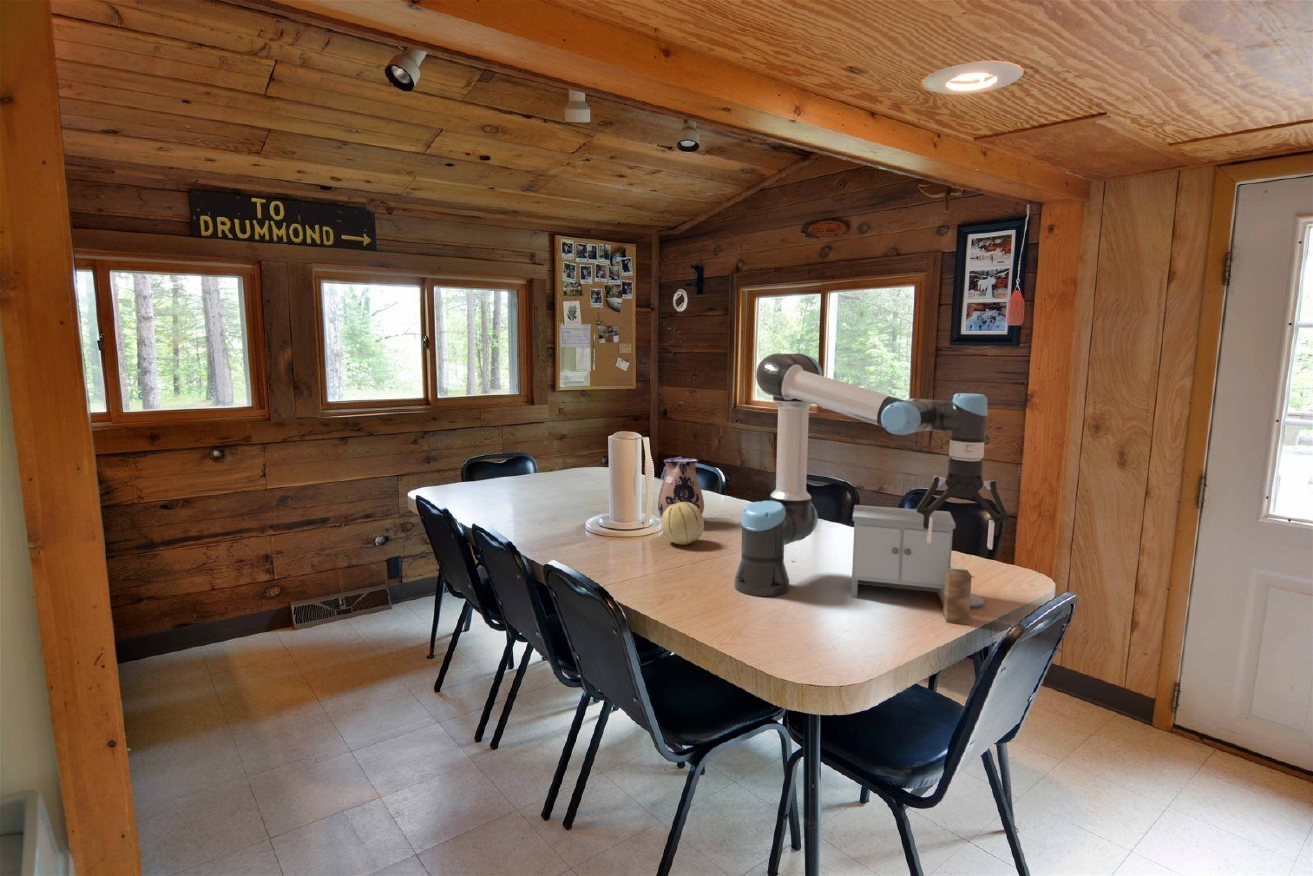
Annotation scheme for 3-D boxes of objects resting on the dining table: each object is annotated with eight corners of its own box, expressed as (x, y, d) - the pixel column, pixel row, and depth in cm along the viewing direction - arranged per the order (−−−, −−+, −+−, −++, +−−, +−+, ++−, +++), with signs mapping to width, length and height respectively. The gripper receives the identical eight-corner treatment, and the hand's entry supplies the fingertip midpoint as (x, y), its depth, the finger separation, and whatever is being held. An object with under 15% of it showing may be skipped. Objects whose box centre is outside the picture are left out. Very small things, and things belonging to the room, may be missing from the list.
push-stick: (946, 622, 166) (949, 574, 165) (934, 594, 186) (936, 551, 185) (968, 624, 165) (971, 576, 164) (953, 596, 185) (956, 552, 183)
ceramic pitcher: (663, 531, 252) (663, 463, 249) (652, 517, 272) (652, 455, 269) (709, 529, 255) (710, 462, 252) (694, 516, 276) (695, 454, 273)
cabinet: (848, 599, 182) (852, 517, 179) (851, 580, 197) (854, 504, 194) (950, 610, 174) (956, 525, 171) (944, 590, 189) (949, 511, 187)
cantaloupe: (701, 550, 226) (702, 506, 224) (658, 548, 228) (658, 504, 227) (705, 539, 241) (706, 497, 239) (664, 537, 243) (664, 495, 241)
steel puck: (955, 607, 177) (955, 600, 177) (952, 598, 184) (952, 591, 183) (985, 610, 175) (985, 603, 175) (981, 601, 181) (981, 594, 181)
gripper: (910, 457, 163) (904, 543, 166) (1027, 464, 156) (1018, 554, 159) (909, 452, 170) (903, 535, 173) (1020, 459, 163) (1012, 546, 166)
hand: (958, 545), depth 166 cm, fingers open, 13 cm apart
